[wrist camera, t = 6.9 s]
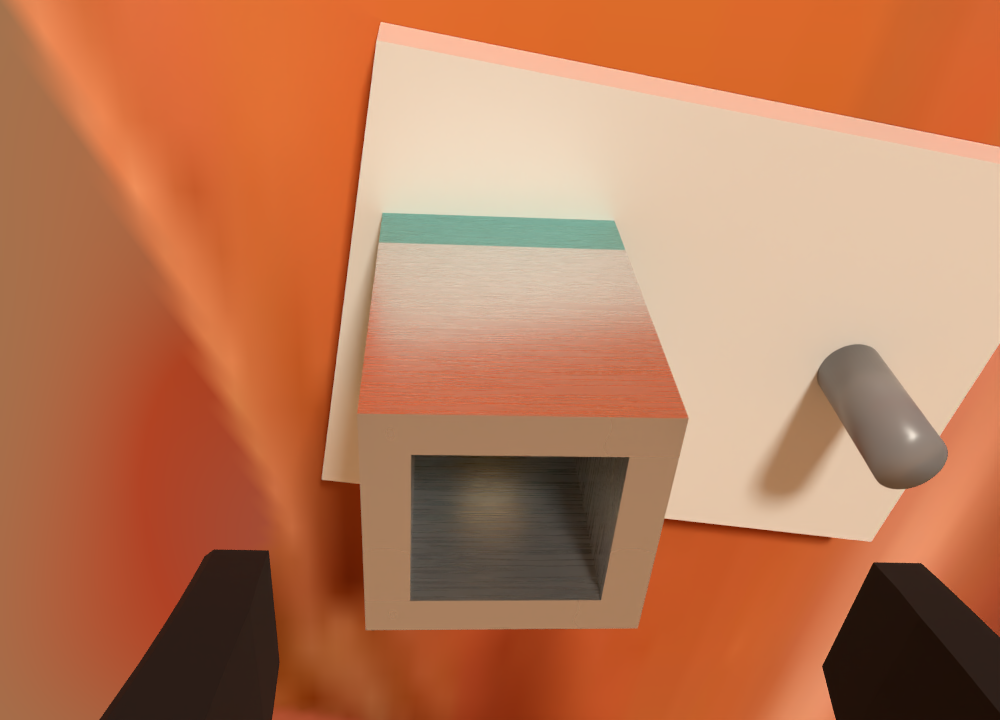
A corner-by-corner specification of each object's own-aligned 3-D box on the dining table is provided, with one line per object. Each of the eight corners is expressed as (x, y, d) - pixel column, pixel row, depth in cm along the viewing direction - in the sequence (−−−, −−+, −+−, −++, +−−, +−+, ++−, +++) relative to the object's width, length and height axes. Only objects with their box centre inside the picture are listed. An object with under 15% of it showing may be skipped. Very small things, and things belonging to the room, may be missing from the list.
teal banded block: (614, 220, 16) (688, 418, 11) (586, 402, 19) (637, 628, 14) (382, 212, 16) (357, 413, 11) (385, 399, 19) (366, 629, 14)
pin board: (1065, 160, 18) (1218, 258, 14) (852, 508, 23) (925, 639, 20) (380, 21, 15) (363, 98, 12) (326, 445, 21) (304, 582, 17)
